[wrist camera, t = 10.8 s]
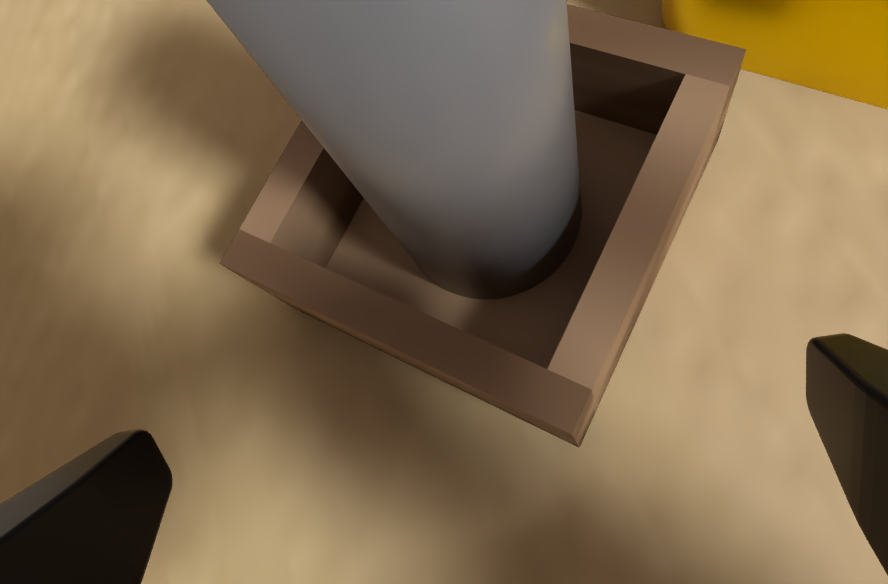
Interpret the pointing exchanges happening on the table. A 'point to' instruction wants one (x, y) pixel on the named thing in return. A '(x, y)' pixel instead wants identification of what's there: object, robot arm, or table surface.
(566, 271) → the walnut socket
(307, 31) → the charcoal canister
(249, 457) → the table surface
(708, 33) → the element tile
